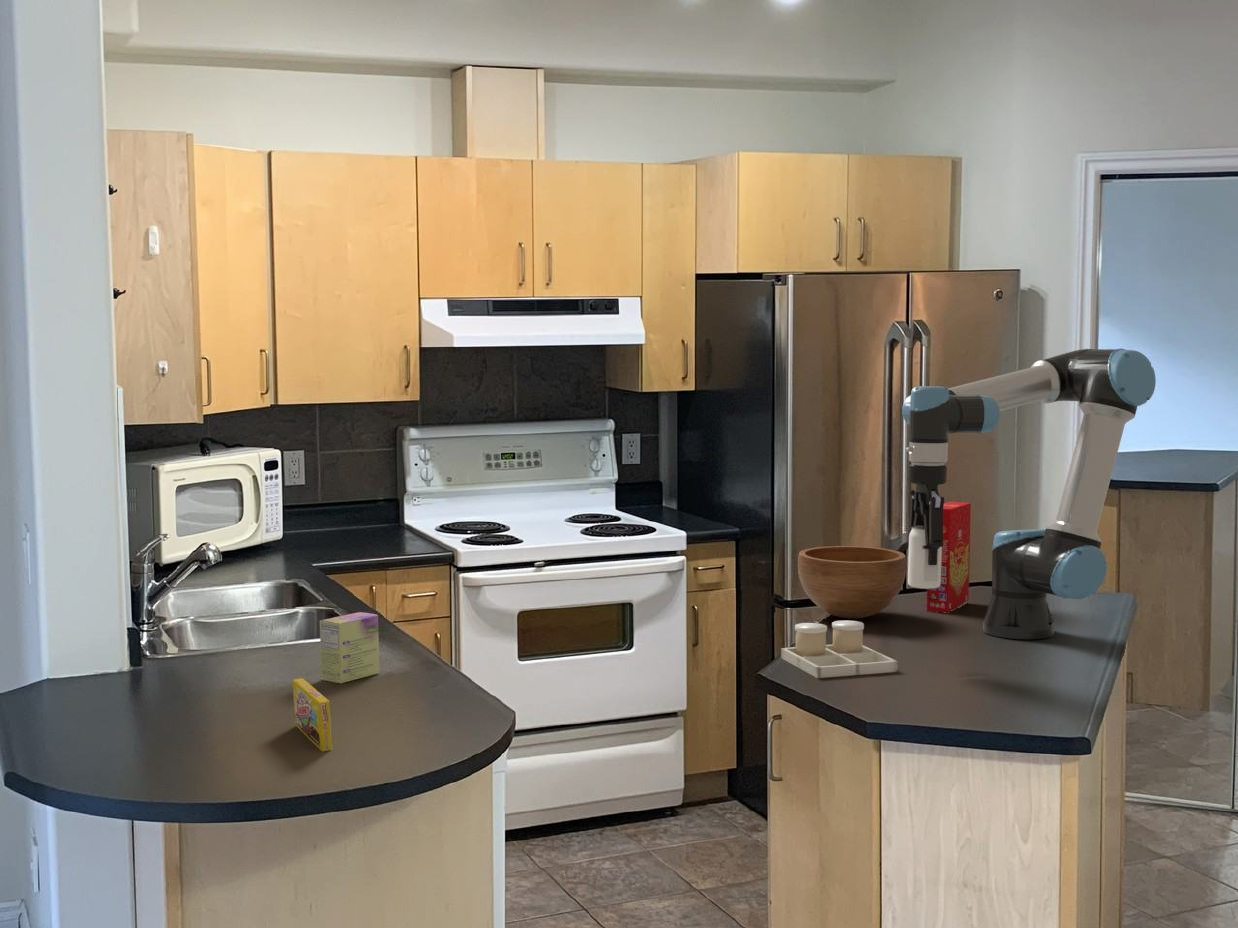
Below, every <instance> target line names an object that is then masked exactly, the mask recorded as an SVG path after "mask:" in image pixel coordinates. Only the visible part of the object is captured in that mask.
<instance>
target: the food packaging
mask: <svg viewBox="0 0 1238 928" xmlns="http://www.w3.org/2000/svg"><path fill="white" fill-rule="evenodd" d="M971 505H972V504H971V502H961V501H960V502H958V501H948V502H944V506H943V547H942V556H941V584H940V586H939V588H936V589H926V612H928V611H938V612H946V613H948V612H950V611H951V610H953V609H955V608H957V607H958V606H960V605H961V604H963V603H964V602H966V601H968V600H969V599H970V598H969V595H970V593H969V592H970V589H969V588H970V560H971V559H970V557H971V556H970V555H971V511H972V510H971V509H972V507H971ZM946 613H945V614H946ZM950 613H951V612H950ZM948 614H949V613H948Z"/></svg>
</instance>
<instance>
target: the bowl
mask: <svg viewBox="0 0 1238 928" xmlns="http://www.w3.org/2000/svg"><path fill="white" fill-rule="evenodd" d="M797 570H798V571H797V573H798V577H799V580H800V585H801V586H802V588H803V590H804V592H805V593H806V595H807V596H808V599H810V601H812V602H813V604H815V605H816V606H817V607H818V608H819V609H821V610H822V611H823V612H826V613H827V614H830V615H832V616H835V617H836V618H837V617H838V618H842V619H848V620H849V619H850V620H851V619H853V620H856V619H864V618H868V617H871V616H874V615H877V614H878V613H880V612H881V611H883V610H884V609H886V608H887V607H889V606H890V605H891V603H893V601H894V600H895V599H896V597H897V596H898V595H899V593H900V592H901V590H902V588H903V586H904V585H903V584H904V582H905V578H906V574H907V558H906V554H904V552H901V551H898V550H894V549H890V548H889V549H888V548H882V547H872V546H859V545H848V546H847V545H835V546H831V545H830V546H829V545H827V546H818V547H817V546H816V547H810V548H805V549H802V550H799V552H798V555H797Z"/></svg>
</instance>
